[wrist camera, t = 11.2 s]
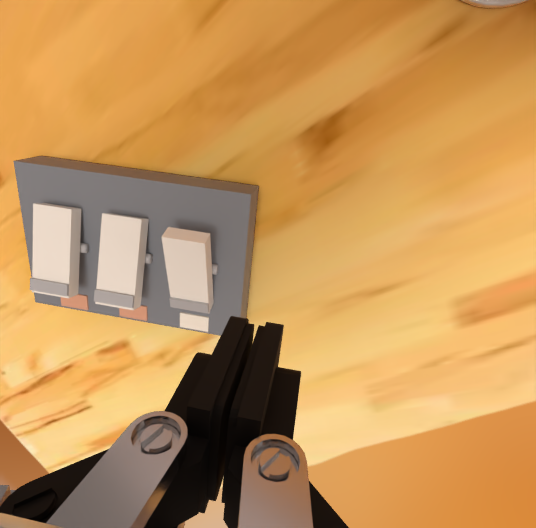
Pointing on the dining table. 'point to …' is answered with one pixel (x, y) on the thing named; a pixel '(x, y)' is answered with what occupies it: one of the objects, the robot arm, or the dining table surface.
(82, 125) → the dining table surface
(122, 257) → the rocker
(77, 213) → the rocker
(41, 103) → the dining table surface
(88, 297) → the switch unit
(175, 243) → the rocker
